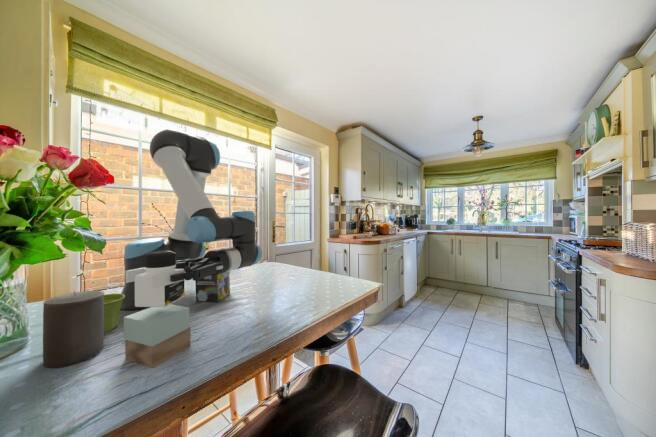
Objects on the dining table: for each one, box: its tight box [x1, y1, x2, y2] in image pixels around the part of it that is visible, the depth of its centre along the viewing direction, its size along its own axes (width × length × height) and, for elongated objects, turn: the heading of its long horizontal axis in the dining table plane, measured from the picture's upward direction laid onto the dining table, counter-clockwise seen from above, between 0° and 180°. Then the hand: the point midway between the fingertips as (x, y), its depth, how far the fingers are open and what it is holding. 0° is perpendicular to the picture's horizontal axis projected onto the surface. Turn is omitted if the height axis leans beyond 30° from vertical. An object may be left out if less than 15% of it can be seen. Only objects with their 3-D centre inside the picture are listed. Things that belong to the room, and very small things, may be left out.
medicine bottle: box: [135, 251, 185, 308], centre depth 56 cm, size 7×7×12 cm
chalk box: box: [195, 272, 231, 303], centre depth 92 cm, size 9×9×15 cm
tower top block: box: [123, 303, 190, 347], centre depth 56 cm, size 9×9×5 cm
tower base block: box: [124, 326, 191, 369], centre depth 56 cm, size 9×9×5 cm
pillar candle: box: [42, 290, 105, 369], centre depth 55 cm, size 10×10×15 cm
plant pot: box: [104, 293, 125, 333], centre depth 67 cm, size 9×9×9 cm
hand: (139, 279), depth 52 cm, fingers closed on medicine bottle, 9 cm apart
